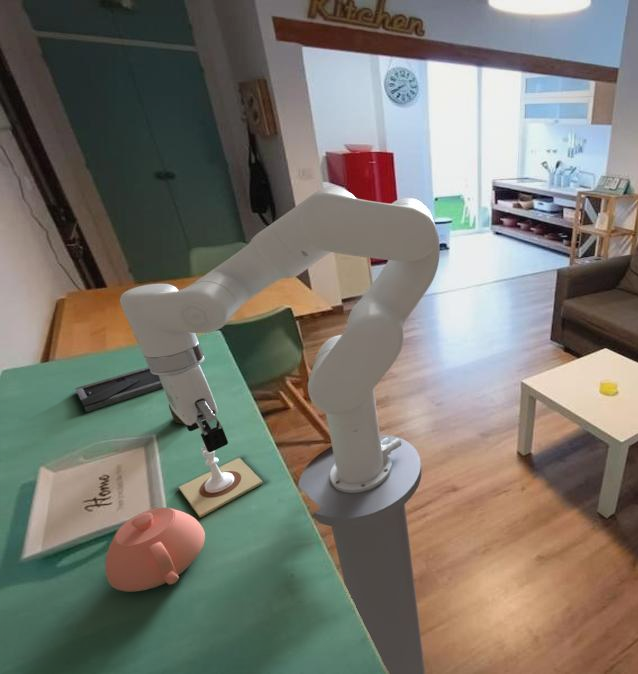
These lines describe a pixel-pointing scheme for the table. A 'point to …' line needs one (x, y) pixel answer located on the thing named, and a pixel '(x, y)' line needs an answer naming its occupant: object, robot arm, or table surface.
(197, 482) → the beige square coaster
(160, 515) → the sugar bowl
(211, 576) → the table surface
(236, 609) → the table surface
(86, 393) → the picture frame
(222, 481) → the chess piece
